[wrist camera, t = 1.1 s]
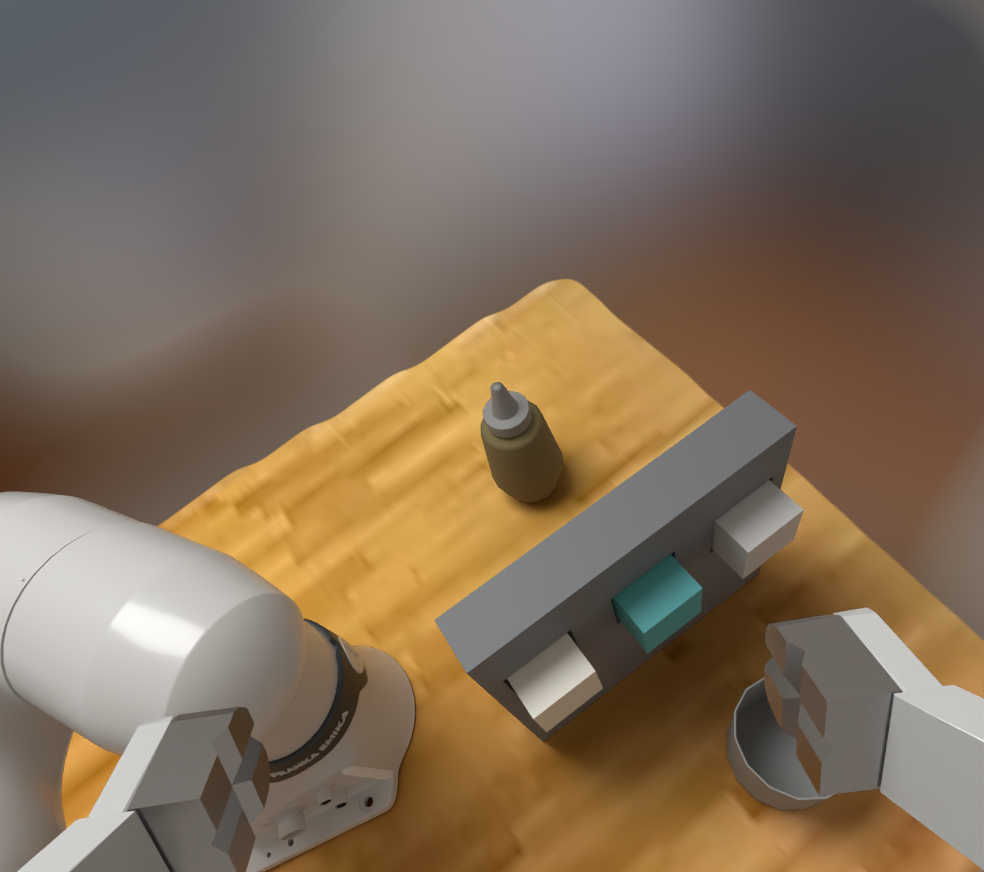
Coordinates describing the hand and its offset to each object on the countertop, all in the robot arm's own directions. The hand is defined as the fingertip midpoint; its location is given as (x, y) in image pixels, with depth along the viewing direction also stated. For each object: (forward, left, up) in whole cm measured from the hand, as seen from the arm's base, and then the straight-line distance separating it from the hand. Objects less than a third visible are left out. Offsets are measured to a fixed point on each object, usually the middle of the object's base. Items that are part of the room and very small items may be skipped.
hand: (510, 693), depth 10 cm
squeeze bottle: (+12, +34, -54) cm, 65 cm away
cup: (+13, -1, -54) cm, 55 cm away
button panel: (+10, +13, -54) cm, 56 cm away
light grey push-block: (+19, +11, -38) cm, 44 cm away
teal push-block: (+10, +11, -38) cm, 41 cm away
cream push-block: (+1, +11, -38) cm, 40 cm away
